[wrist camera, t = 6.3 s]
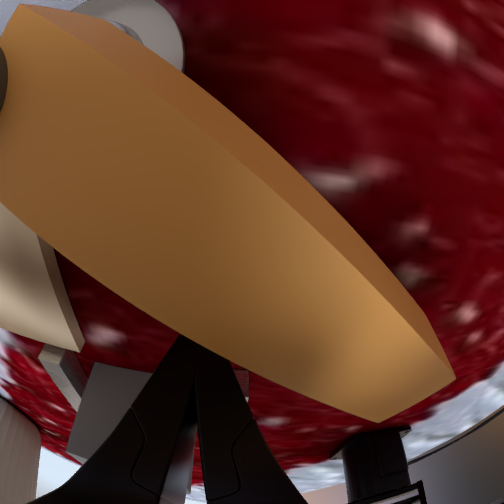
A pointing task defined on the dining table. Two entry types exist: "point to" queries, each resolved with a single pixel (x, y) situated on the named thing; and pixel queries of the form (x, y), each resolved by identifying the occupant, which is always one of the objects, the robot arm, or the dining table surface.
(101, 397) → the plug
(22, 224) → the board
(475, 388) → the dining table surface
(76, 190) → the latch
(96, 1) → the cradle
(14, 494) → the canister
